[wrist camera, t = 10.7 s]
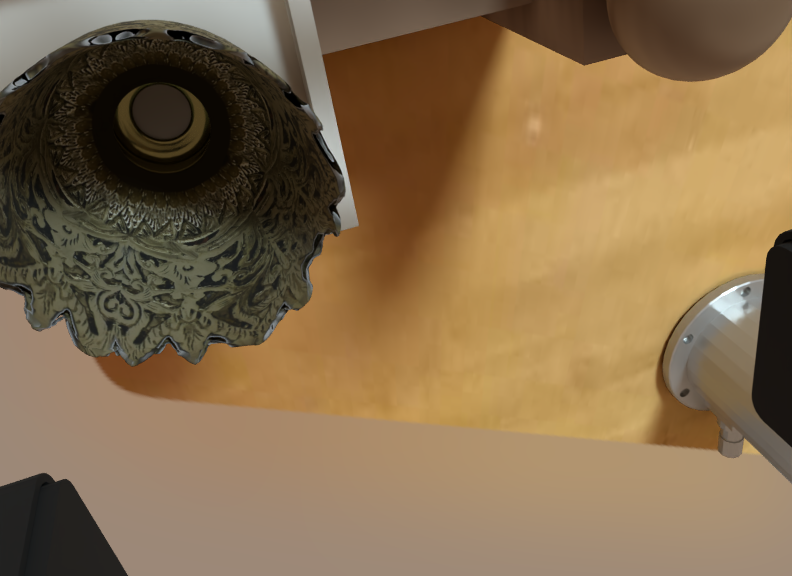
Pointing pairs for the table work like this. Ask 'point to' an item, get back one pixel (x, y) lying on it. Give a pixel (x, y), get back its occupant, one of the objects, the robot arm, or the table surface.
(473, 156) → the table surface
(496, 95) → the table surface
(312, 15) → the headboard
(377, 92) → the table surface
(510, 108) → the table surface
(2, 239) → the cup
